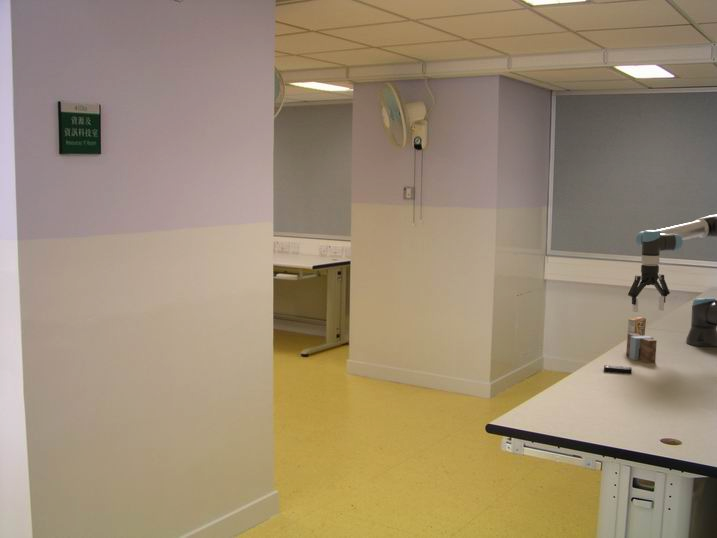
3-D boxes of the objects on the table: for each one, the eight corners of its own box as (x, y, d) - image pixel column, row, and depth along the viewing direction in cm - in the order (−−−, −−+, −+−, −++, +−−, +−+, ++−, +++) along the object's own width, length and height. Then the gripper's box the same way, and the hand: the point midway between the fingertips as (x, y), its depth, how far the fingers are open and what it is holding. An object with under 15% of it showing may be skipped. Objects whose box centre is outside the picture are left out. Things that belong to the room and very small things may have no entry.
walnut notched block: (634, 354, 367) (635, 333, 365) (655, 362, 351) (656, 340, 350) (626, 354, 366) (627, 333, 364) (647, 363, 350) (648, 340, 349)
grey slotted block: (646, 357, 362) (648, 335, 360) (652, 359, 358) (653, 337, 357) (629, 358, 359) (630, 336, 358) (634, 360, 355) (635, 338, 354)
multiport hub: (631, 375, 330) (631, 369, 330) (603, 372, 334) (604, 367, 333) (631, 372, 335) (631, 367, 334) (603, 370, 338) (604, 365, 337)
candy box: (636, 348, 380) (638, 316, 378) (644, 349, 377) (646, 318, 375) (626, 350, 375) (627, 318, 373) (634, 352, 372) (636, 320, 370)
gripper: (668, 262, 365) (666, 307, 367) (621, 264, 358) (619, 310, 361) (679, 264, 357) (677, 310, 360) (631, 266, 351) (629, 313, 354)
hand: (648, 310), depth 360 cm, fingers open, 13 cm apart
